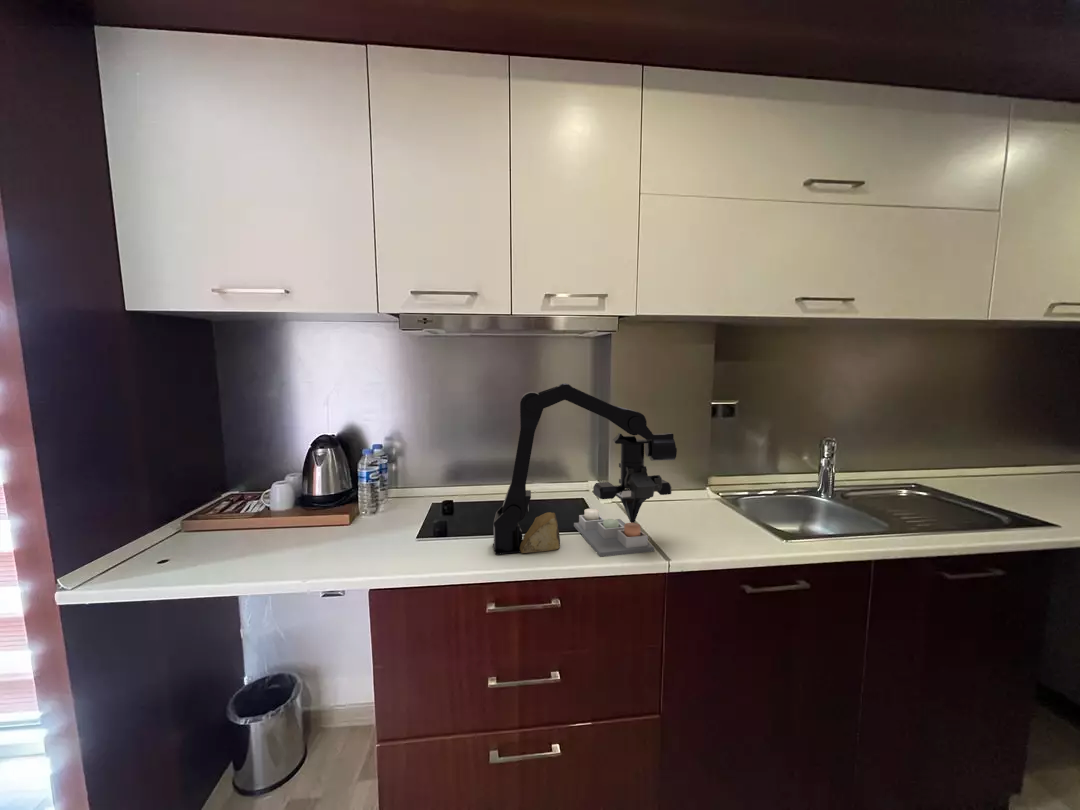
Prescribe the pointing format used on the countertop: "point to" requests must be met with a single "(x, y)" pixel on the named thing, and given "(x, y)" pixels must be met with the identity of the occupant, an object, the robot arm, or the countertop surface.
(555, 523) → the rock
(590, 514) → the cream button
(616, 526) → the sage button
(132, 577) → the countertop surface
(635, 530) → the terracotta button
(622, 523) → the panel
